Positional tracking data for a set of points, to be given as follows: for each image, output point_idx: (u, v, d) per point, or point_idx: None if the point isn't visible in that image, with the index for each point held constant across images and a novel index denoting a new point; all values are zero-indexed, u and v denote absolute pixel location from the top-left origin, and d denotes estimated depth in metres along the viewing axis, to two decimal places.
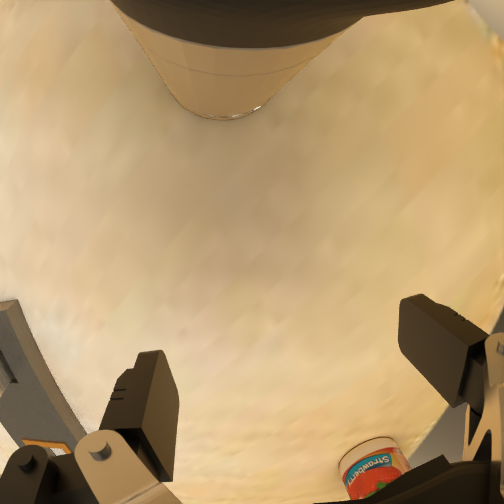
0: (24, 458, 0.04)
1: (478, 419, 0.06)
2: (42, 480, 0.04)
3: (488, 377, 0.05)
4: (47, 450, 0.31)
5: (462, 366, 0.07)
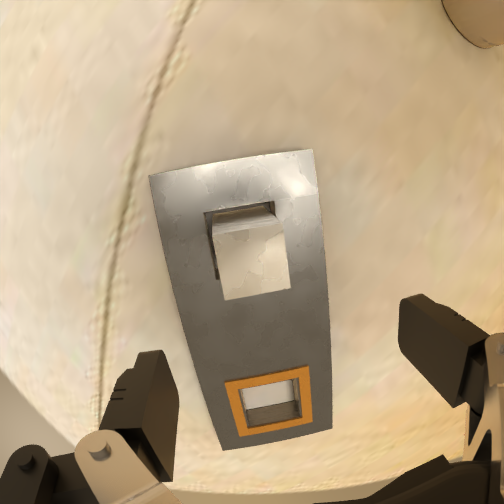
0: (24, 458, 0.04)
1: (478, 419, 0.06)
2: (42, 480, 0.04)
3: (488, 377, 0.05)
4: (243, 399, 0.30)
5: (462, 366, 0.07)
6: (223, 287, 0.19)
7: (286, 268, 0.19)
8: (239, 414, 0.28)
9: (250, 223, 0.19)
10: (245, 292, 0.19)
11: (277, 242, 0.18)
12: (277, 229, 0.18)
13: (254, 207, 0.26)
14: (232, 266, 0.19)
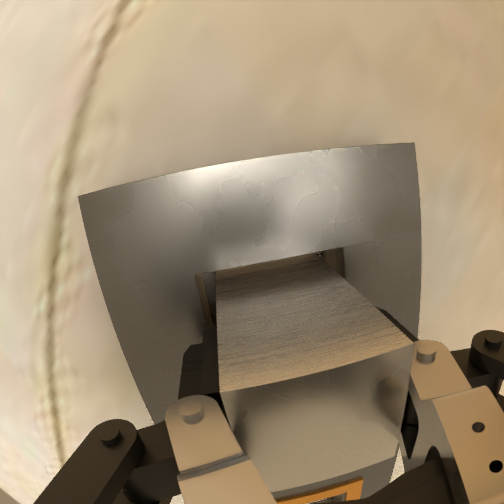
0: (109, 434, 0.05)
1: (411, 429, 0.06)
2: (133, 453, 0.05)
3: (416, 391, 0.05)
4: None
5: None
6: None
7: (397, 430, 0.07)
8: None
9: (319, 332, 0.07)
10: (300, 481, 0.07)
11: (391, 388, 0.06)
12: (399, 360, 0.06)
13: None
14: (276, 448, 0.06)
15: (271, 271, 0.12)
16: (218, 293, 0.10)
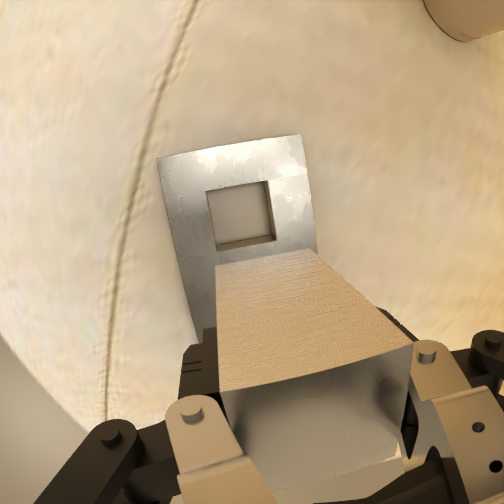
0: (109, 434, 0.05)
1: (411, 429, 0.06)
2: (133, 453, 0.05)
3: (416, 391, 0.05)
4: None
5: None
6: None
7: (397, 429, 0.07)
8: None
9: (319, 332, 0.07)
10: (300, 480, 0.07)
11: (391, 388, 0.06)
12: (399, 360, 0.06)
13: (296, 253, 0.13)
14: (276, 448, 0.06)
15: (271, 271, 0.12)
16: (218, 293, 0.10)
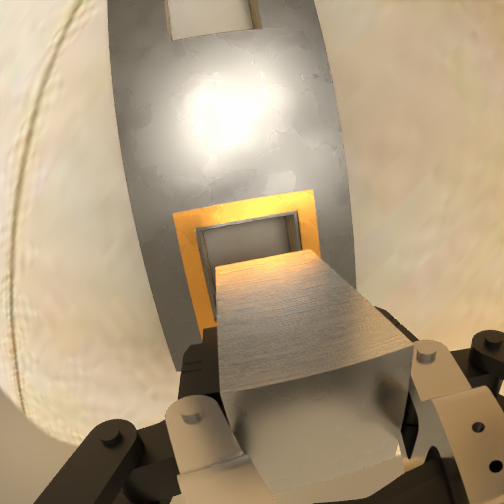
0: (109, 433, 0.05)
1: (411, 429, 0.06)
2: (133, 453, 0.05)
3: (416, 391, 0.05)
4: (209, 272, 0.20)
5: None
6: None
7: (397, 431, 0.07)
8: (199, 286, 0.18)
9: (320, 334, 0.07)
10: (300, 481, 0.07)
11: (391, 389, 0.06)
12: (400, 361, 0.06)
13: (296, 253, 0.13)
14: (277, 449, 0.06)
15: (271, 272, 0.12)
16: (218, 294, 0.10)
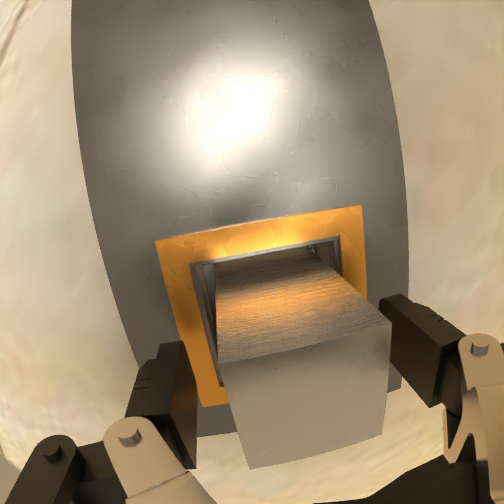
0: (51, 448, 0.05)
1: (456, 421, 0.06)
2: (70, 470, 0.04)
3: (465, 380, 0.05)
4: (211, 317, 0.14)
5: (436, 366, 0.07)
6: (247, 453, 0.07)
7: (382, 407, 0.08)
8: (197, 344, 0.12)
9: (307, 314, 0.08)
10: (293, 454, 0.08)
11: (373, 365, 0.07)
12: (379, 338, 0.07)
13: None
14: (269, 420, 0.07)
15: (266, 263, 0.13)
16: (217, 283, 0.11)
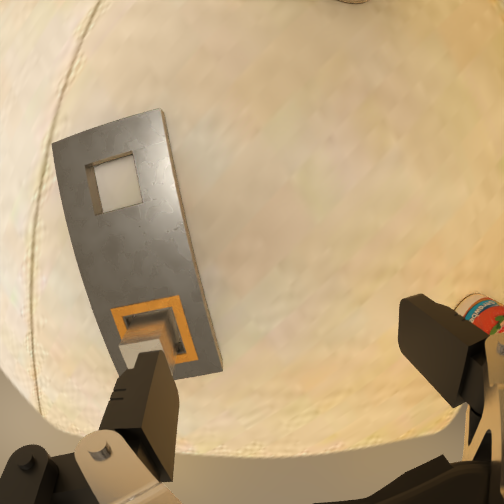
0: (24, 458, 0.04)
1: (478, 419, 0.06)
2: (42, 480, 0.04)
3: (488, 377, 0.05)
4: None
5: (462, 366, 0.07)
6: None
7: None
8: None
9: (144, 334, 0.28)
10: None
11: (158, 349, 0.27)
12: (156, 342, 0.27)
13: None
14: (134, 363, 0.27)
15: (150, 315, 0.32)
16: (131, 323, 0.31)
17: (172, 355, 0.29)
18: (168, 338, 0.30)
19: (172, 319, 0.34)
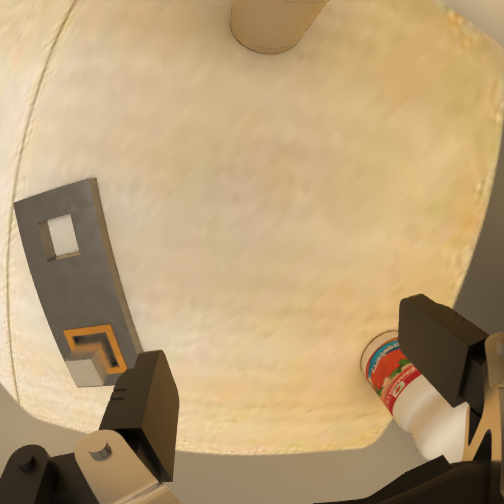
0: (24, 458, 0.04)
1: (478, 419, 0.06)
2: (42, 480, 0.04)
3: (488, 377, 0.05)
4: None
5: (462, 366, 0.07)
6: (75, 381, 0.34)
7: (98, 377, 0.34)
8: None
9: (83, 354, 0.34)
10: (84, 384, 0.34)
11: (91, 366, 0.33)
12: (89, 361, 0.33)
13: None
14: (76, 374, 0.33)
15: (92, 336, 0.39)
16: (78, 342, 0.38)
17: (105, 369, 0.36)
18: (101, 356, 0.36)
19: None
